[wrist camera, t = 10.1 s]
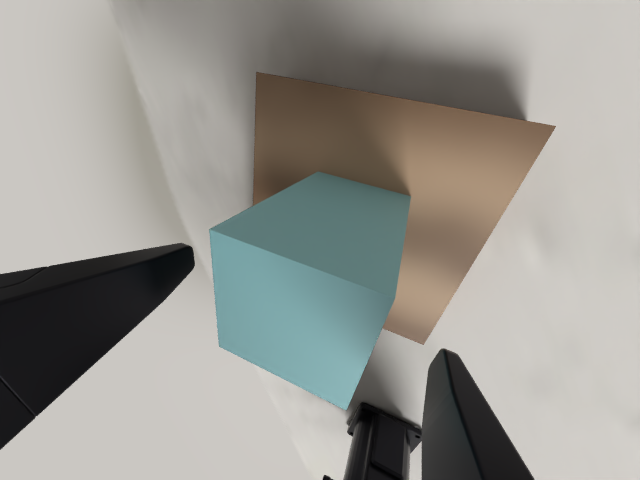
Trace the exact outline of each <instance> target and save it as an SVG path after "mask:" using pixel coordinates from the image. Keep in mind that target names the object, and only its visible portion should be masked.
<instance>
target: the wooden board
mask: <svg viewBox="0 0 640 480" xmlns="http://www.w3.org/2000/svg"><path fill="white" fill-rule="evenodd" d="M555 127H556V126H552V125H547V124H541V123H536V122H530V121H525V120H519V119H514V118H508V117H502V116H497V115H491V114H486V113H480V112H475V111H469V110H464V109H458V108H453V107H447V106H442V105H436V104H431V103H425V102H420V101H414V100H409V99H403V98H397V97H392V96H386V95H381V94H375V93H370V92H364V91H359V90H353V89H348V88H342V87H337V86H331V85H326V84H320V83H315V82H309V81H304V80H298V79H292V78H287V77H281V76H276V75H270V74H265V73H259V72H256V106H255V146H254V186H253V206H254V205H256V204H258V203H260V202H262V201H263V200H265V199H267V198H269V197H271V196H273V195H275V194H277V193H278V192H280V191H282V190H284V189H286V188H288V187H290V186H292V185H293V184H295V183H297V182H299V181H301V180H303V179H305V178H307V177H309V176H310V175H312V174H314V173H316V172H322V173H326V174H329V175H333V176H337V177H341V178H344V179H348V180H352V181H356V182H359V183H363V184H367V185H371V186H374V187H378V188H382V189H385V190H389V191H393V192H397V193H400V194H404V195H408V196H411V201H410V207H409V213H408V220H407V226H406V232H405V239H404V245H403V252H402V258H401V264H400V271H399V277H398V284H397V290H396V296H395V300H394V302H393V305H392V307H391V309H390V311H389V314H388V316H387V318H386V321H385V323H384V325H383V327H382V328H383V329H386V330H388V331H391V332H393V333H396V334H398V335H401V336H403V337H405V338H408V339H410V340H413V341H415V342H418V343H420V344H423V345H424V343H425V342H426V340H427V338H428V337H429V335H430V333H431V332H432V330H433V328H434V327H435V325H436V323H437V322H438V320H439V318H440V317H441V315H442V314H443V312H444V310H445V309H446V307H447V305H448V304H449V302H450V300H451V299H452V297H453V295H454V294H455V292H456V290H457V289H458V287H459V286H460V284H461V282H462V281H463V279H464V277H465V276H466V274H467V272H468V271H469V269H470V267H471V266H472V264H473V262H474V261H475V259H476V258H477V256H478V254H479V253H480V251H481V249H482V248H483V246H484V244H485V243H486V241H487V239H488V238H489V236H490V234H491V233H492V231H493V229H494V228H495V226H496V225H497V223H498V221H499V220H500V218H501V216H502V215H503V213H504V211H505V210H506V208H507V206H508V205H509V203H510V201H511V200H512V198H513V197H514V195H515V193H516V192H517V190H518V188H519V187H520V185H521V183H522V182H523V180H524V178H525V177H526V175H527V173H528V172H529V170H530V169H531V167H532V165H533V164H534V162H535V160H536V159H537V157H538V155H539V154H540V152H541V150H542V149H543V147H544V145H545V144H546V142H547V140H548V139H549V137H550V136H551V134H552V132H553V131H554V129H555Z"/></svg>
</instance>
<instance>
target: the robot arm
mask: <svg viewBox="0 0 640 480" xmlns="http://www.w3.org/2000/svg"><path fill="white" fill-rule="evenodd" d="M194 266H195V261H194V253H193V248H192V247H191V246H189V245H186V244H184V243H177V244H172V245H166V246H160V247H155V248H149V249H143V250H138V251H132V252H126V253H121V254H115V255H109V256H103V257H98V258H92V259H86V260H81V261H75V262H70V263H64V264H58V265H52V266H49V267H41V268H35V269H29V270H23V271H17V272H11V273H5V274H0V450H1V449H2V448H3V447H4V446H5V445H6V444H7V443H8V442H9V441H10V440H12V439H13V438H14V437H15V436H16V435H17V434H18V433H19V432H20V431H21V430H22V429H23V428H25V427H26V426H27V425H28V424H29V423H30V422H31V421H32V420H33V419H35V417H36V416H38V415H39V414H40V413H41V412H42V411H43V410H44V409H45V408H46V407H48V406H49V405H50V404H51V403H52V402H53V401H54V400H55V399H56V398H57V397H59V396H60V395H61V394H62V393H63V392H64V391H65V390H66V389H67V388H69V387H70V386H71V385H72V384H73V383H74V382H75V381H76V380H77V379H78V378H79V377H81V376H82V375H83V374H84V373H85V372H86V371H87V370H88V369H89V368H91V367H92V366H93V365H94V364H95V363H96V362H97V361H98V360H99V359H100V358H102V357H103V356H104V355H105V354H106V353H107V352H108V351H109V350H110V349H112V347H114V346H115V345H116V344H117V343H118V342H119V341H120V340H121V339H123V337H125V336H126V335H127V334H128V333H129V332H130V331H131V330H132V329H134V328H135V327H136V326H137V325H138V324H139V323H140V322H141V321H142V320H143V319H144V318H145V317H147V316H148V315H149V314H150V313H151V312H152V311H153V310H154V309H156V307H158V306H159V305H160V304H161V303H162V302H163V301H164V300H165V299H166V298H167V297H168V296H169V295H170V294H171V293H172V292H173V291H174V290H175V288H176V287H177V286H178V285H179V284H180V283H181V282H182V281H183V279H185V278H186V277H187V275H188V274H189V273H190V272H191V271H192V270H193V268H194ZM347 433H348V434H349V435H351V436H353V439H352V443H351V448H350V452H349V457H348V461H347V466H346V470H345V475H344V479H343V480H409V469H410V453H411V452H412V451H413V450H414V449H415V448H416V447H417V445H418V444H419V443H420V442H421V441H422V480H535V479H534V478H533V476H532V475H531V473H530V471H529V470H528V468H527V466H526V465H525V463H524V461H523V460H522V458H521V457H520V455H519V453H518V452H517V450H516V448H515V447H514V445H513V443H512V442H511V440H510V439H509V437H508V435H507V434H506V432H505V430H504V429H503V427H502V426H501V424H500V422H499V421H498V419H497V417H496V416H495V414H494V412H493V411H492V409H491V408H490V406H489V404H488V403H487V401H486V399H485V398H484V396H483V394H482V393H481V391H480V390H479V388H478V386H477V385H476V383H475V381H474V380H473V378H472V376H471V375H470V373H469V372H468V370H467V368H466V367H465V365H464V363H463V362H462V360H461V358H460V357H459V356H458V355H457V354H456V353H454V352H452V351H449V350H447V349H441V350H440V351H439V352H438V354H437V355H436V357H435V358H434V360H433V361H432V363H431V364H430V366H429V370H428V377H427V386H426V395H425V403H424V412H423V422H422V431H420V430H418V429H416V428H414V427H412V426H410V425H408V424H406V423H404V422H402V421H400V420H398V419H396V418H394V417H392V416H390V415H388V414H386V413H384V412H382V411H380V410H378V409H376V408H373V407H371V406H369V405H367V404H365V403H360V405H359V407H358V409H357V411H356V413H355V415H354V417H353V419H352V421H351V423H350V425H349V427H348V431H347ZM323 480H333V479H331V478H330V477H329V476H326V475H324V477H323Z"/></svg>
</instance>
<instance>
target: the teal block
mask: <svg viewBox="0 0 640 480" xmlns="http://www.w3.org/2000/svg"><path fill="white" fill-rule="evenodd" d="M410 201H411V196H408V195H404V194H400V193H397V192H393V191H389V190H385V189H382V188H378V187H374V186H371V185H367V184H363V183H359V182H356V181H352V180H348V179H344V178H341V177H337V176H333V175H329V174H326V173H322V172H316V173H314V174H312V175H310V176H309V177H307V178H305V179H303V180H301V181H299V182H297V183H295V184H293V185H292V186H290V187H288V188H286V189H284V190H282V191H280V192H278V193H277V194H275V195H273V196H271V197H269V198H267V199H265V200H263V201H262V202H260V203H258V204H256V205H254V206H252V207H250V208H248V209H247V210H245V211H243V212H241V213H239V214H237V215H235V216H233V217H232V218H230V219H228V220H226V221H224V222H222V223H220V224H218V225H217V226H215V227H213V228H211V229H209V232H210V244H211V256H212V268H213V280H214V292H215V304H216V316H217V328H218V340H219V347H221V348H223V349H225V350H227V351H229V352H231V353H233V354H235V355H237V356H239V357H241V358H243V359H245V360H247V361H249V362H251V363H253V364H255V365H257V366H259V367H261V368H263V369H265V370H267V371H269V372H271V373H273V374H275V375H277V376H279V377H281V378H283V379H285V380H287V381H289V382H291V383H293V384H295V385H297V386H299V387H301V388H303V389H305V390H306V391H308V392H310V393H312V394H314V395H316V396H318V397H320V398H322V399H324V400H326V401H328V402H330V403H332V404H334V405H336V406H338V407H340V408H342V409H344V410H347V408H348V405H349V403H350V401H351V399H352V396H353V394H354V392H355V389H356V387H357V385H358V383H359V380H360V378H361V376H362V373H363V371H364V369H365V366H366V364H367V362H368V360H369V357H370V355H371V353H372V350H373V348H374V346H375V344H376V341H377V339H378V337H379V334H380V332H381V330H382V327H383V325H384V323H385V321H386V318H387V316H388V314H389V311H390V309H391V307H392V305H393V302H394V300H395V296H396V290H397V284H398V277H399V271H400V264H401V258H402V252H403V245H404V239H405V232H406V226H407V220H408V213H409V207H410Z"/></svg>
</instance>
